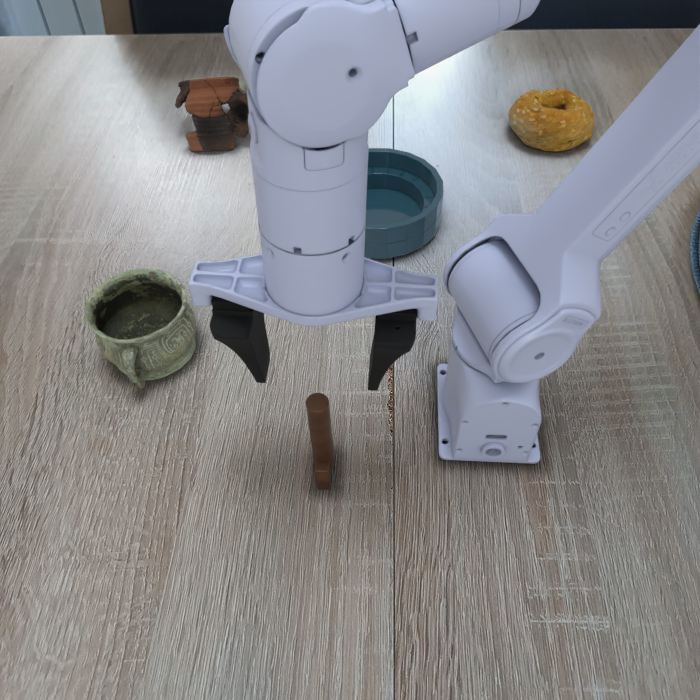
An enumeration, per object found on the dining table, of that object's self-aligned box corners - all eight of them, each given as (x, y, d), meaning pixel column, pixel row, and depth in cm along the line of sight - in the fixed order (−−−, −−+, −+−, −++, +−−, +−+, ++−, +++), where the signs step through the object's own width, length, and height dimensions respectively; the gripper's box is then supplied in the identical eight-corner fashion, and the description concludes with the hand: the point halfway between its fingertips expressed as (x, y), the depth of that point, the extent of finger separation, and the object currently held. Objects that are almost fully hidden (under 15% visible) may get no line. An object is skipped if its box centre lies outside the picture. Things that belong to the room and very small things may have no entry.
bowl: (441, 263, 67) (444, 230, 63) (310, 260, 68) (307, 226, 64) (438, 182, 75) (441, 148, 72) (322, 180, 76) (320, 147, 72)
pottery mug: (166, 154, 81) (154, 82, 78) (213, 147, 89) (203, 82, 86) (247, 149, 76) (237, 72, 73) (289, 142, 84) (281, 73, 81)
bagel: (612, 142, 79) (623, 106, 75) (532, 165, 76) (540, 128, 73) (565, 102, 85) (574, 66, 81) (490, 121, 82) (495, 85, 79)
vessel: (121, 302, 65) (100, 255, 60) (210, 300, 64) (197, 253, 60) (92, 403, 57) (65, 358, 52) (192, 401, 57) (176, 356, 52)
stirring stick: (334, 490, 51) (327, 421, 43) (313, 489, 51) (303, 420, 44) (337, 456, 53) (330, 384, 45) (317, 455, 53) (307, 383, 45)
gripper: (447, 182, 37) (423, 338, 48) (194, 167, 38) (225, 325, 48) (450, 267, 33) (422, 419, 43) (163, 250, 33) (204, 404, 44)
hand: (318, 375), depth 45 cm, fingers open, 7 cm apart
